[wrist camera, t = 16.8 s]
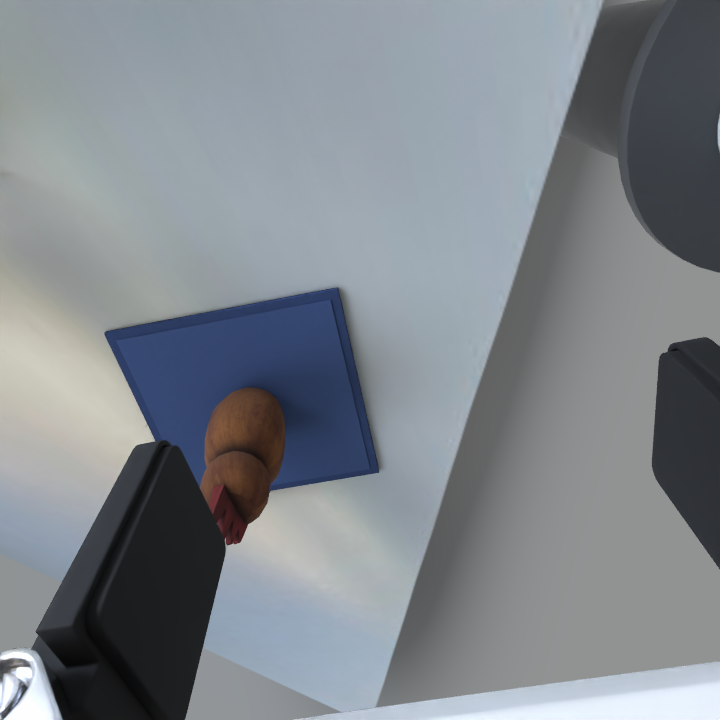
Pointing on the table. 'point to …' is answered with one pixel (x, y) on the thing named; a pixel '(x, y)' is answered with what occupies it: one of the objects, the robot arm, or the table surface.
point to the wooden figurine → (242, 458)
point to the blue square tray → (255, 381)
